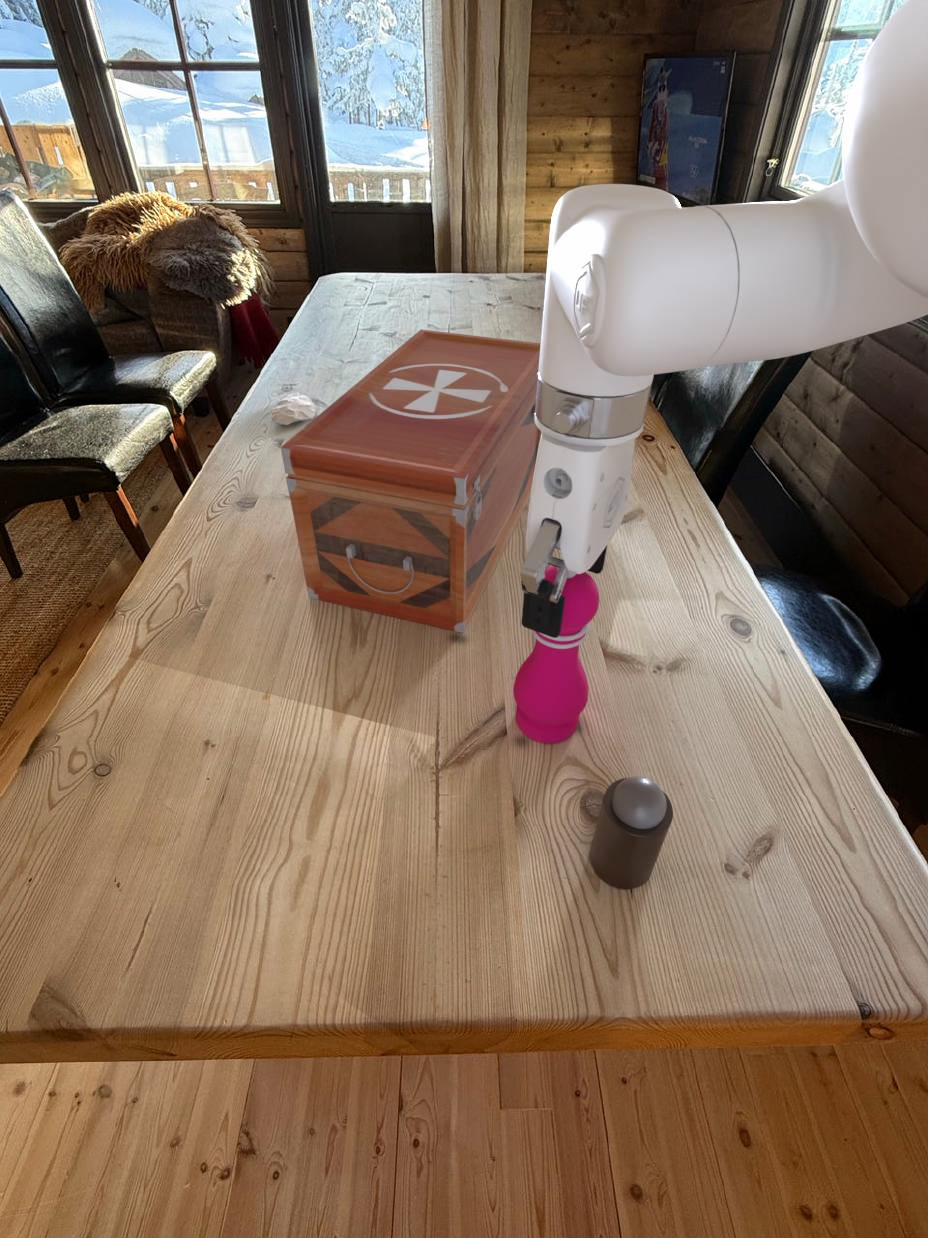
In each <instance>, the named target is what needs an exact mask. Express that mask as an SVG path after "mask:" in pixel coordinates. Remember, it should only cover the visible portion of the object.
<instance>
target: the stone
mask: <svg viewBox="0 0 928 1238" xmlns="http://www.w3.org/2000/svg"><path fill="white" fill-rule="evenodd" d="M316 413H317V412H316V405H315V404H314V401H313V400H312V399H311V398H310V397H309V396H308V395H306V394H302V393H300V392H292V393H289V394H286V395H285V396H283V397H282V398H280V399H279V400H278V401H277V402H276V404H275V406H272V407H271V412H270V414H271V420H272V422H273V423H274V424H276V425H285V426H289V425H291V424H295V423H298V422H304V421H305V422H306V421H310V420H311V421H312V420H313V419H314V418H315V417H316Z"/></svg>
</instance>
